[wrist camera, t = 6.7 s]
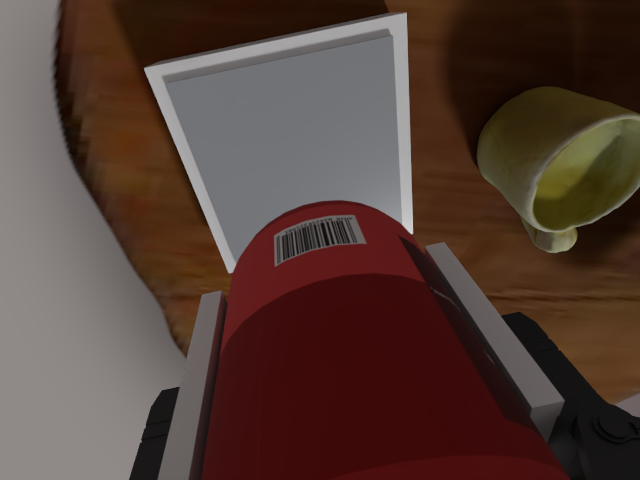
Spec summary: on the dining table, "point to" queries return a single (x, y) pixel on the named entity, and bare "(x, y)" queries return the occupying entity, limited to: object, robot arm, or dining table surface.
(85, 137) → the dining table surface
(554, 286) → the dining table surface
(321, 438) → the canned food
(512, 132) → the mug
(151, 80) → the tray
